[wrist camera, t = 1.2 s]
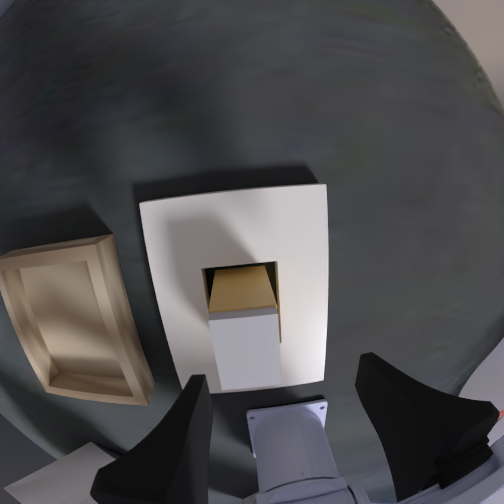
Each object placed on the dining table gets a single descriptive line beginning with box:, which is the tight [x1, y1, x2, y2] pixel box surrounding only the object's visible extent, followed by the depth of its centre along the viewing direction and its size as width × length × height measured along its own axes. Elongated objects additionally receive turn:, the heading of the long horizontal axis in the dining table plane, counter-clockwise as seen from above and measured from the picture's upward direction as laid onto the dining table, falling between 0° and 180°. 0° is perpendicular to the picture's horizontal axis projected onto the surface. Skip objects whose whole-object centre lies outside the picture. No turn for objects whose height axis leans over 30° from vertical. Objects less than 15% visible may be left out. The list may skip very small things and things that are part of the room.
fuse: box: [208, 265, 281, 390], centre depth 17 cm, size 5×4×7 cm
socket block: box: [139, 183, 328, 393], centre depth 20 cm, size 16×12×2 cm
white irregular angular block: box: [4, 442, 121, 504], centre depth 19 cm, size 17×24×17 cm
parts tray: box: [0, 234, 155, 405], centre depth 19 cm, size 14×12×3 cm
